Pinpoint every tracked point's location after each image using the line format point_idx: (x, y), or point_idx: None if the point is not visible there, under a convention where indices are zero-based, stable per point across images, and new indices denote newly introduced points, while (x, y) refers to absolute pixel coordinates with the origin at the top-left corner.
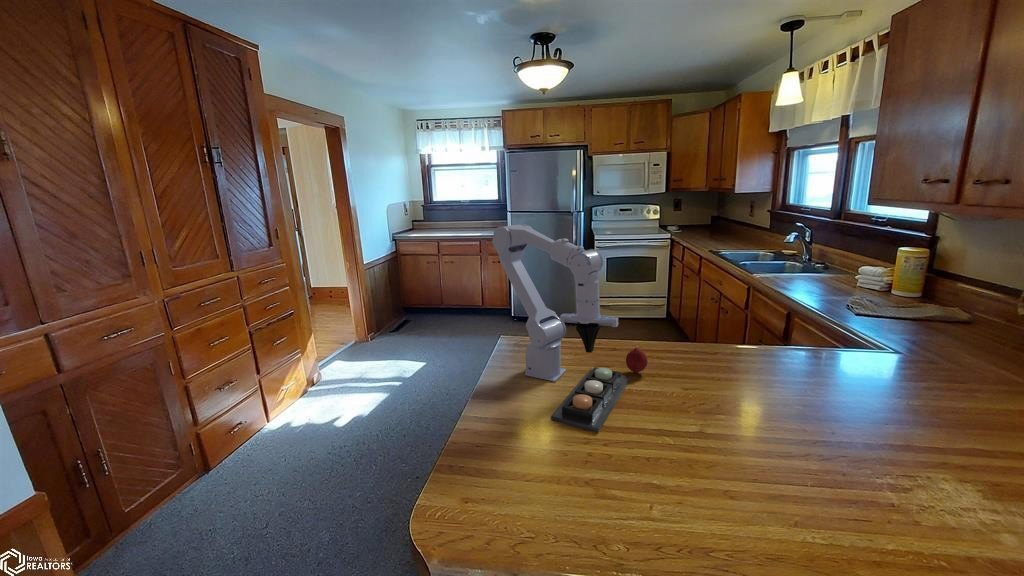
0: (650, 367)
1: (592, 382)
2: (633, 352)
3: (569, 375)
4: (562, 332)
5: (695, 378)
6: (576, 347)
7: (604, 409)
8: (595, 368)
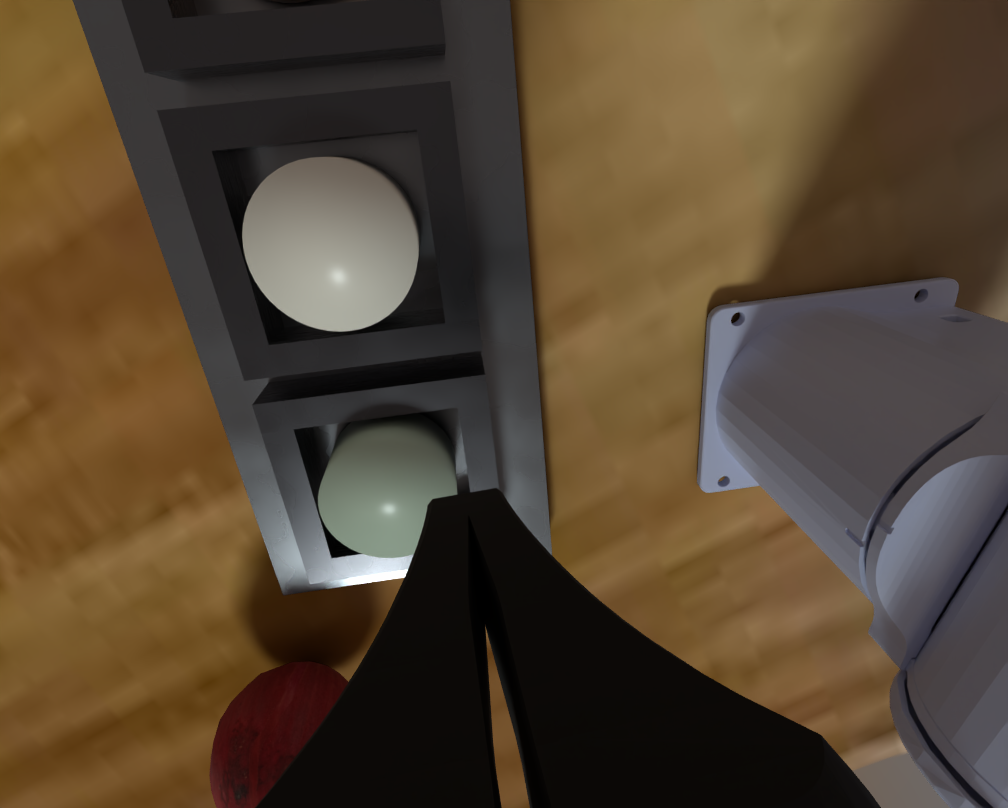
0: None
1: (362, 279)
2: None
3: (653, 445)
4: (954, 725)
5: (13, 767)
6: None
7: (127, 31)
8: None
